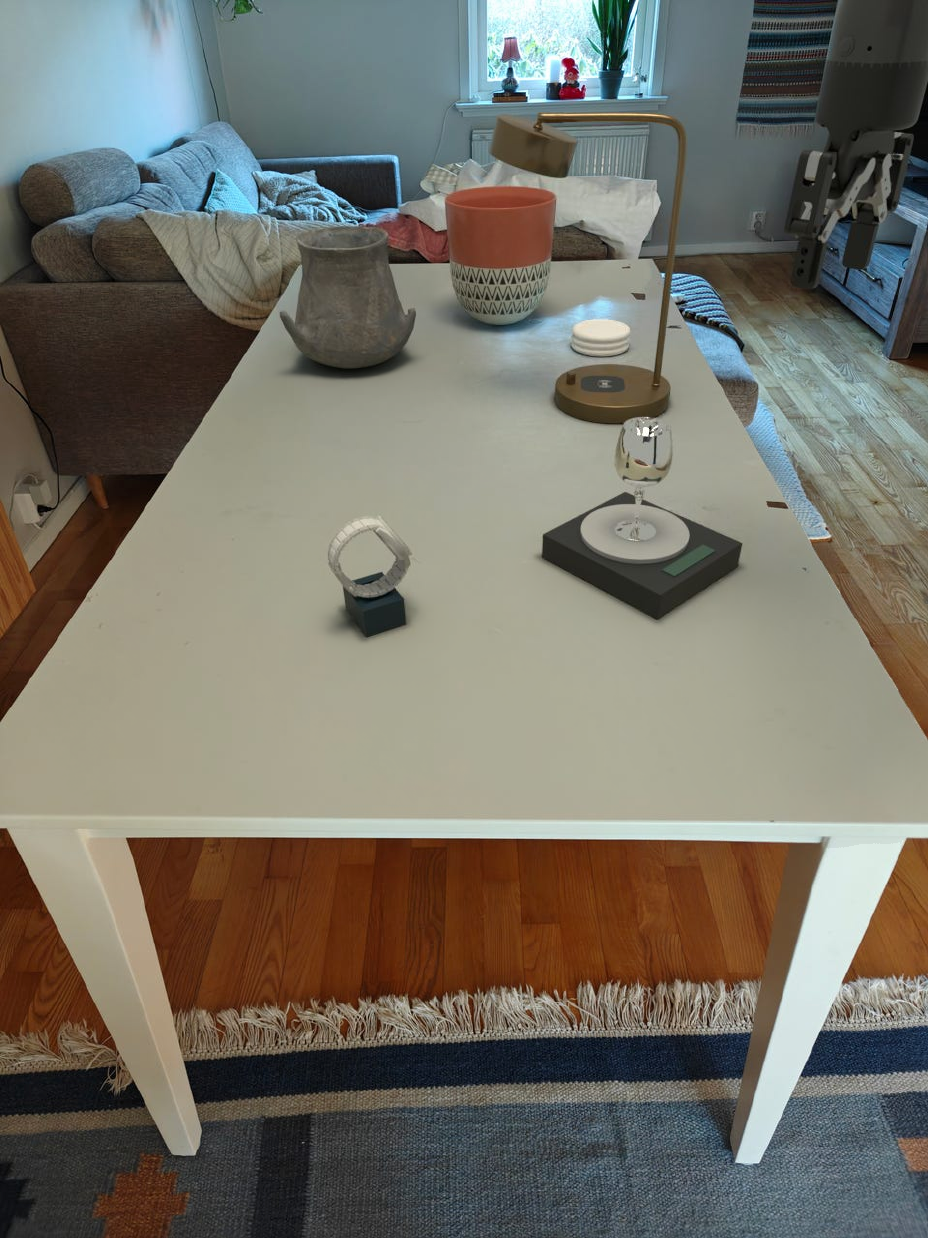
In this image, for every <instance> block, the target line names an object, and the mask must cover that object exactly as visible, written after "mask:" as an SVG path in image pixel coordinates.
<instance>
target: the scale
mask: <svg viewBox="0 0 928 1238" xmlns="http://www.w3.org/2000/svg"><path fill="white" fill-rule="evenodd" d="M635 508H636V500H635V494H632V493H630V492H627V491H624V492H621V493H620V494H618V495H615V496H614V497H612V498H610V499H608V500H606V501H604V502H602V503H600V504H599V505H597V506H595V507H593V508H590V509H589V510H586V511H585V512H583V513H582V514H579V515H577V516H575V517H574V518H571V519H570V520H568V521H566V522H564V523H562V524H560V525H558V526H556V527H554V528H552V529H550V530H548V531H546V532H545V533H543V534H542V546H541V558H543V559H544V560H546V561H548V562H550V563H552V564H554V565H555V566H557V567H559V568H561V569H563V570H564V571H566V572H569V573H570V574H572V575H574V576H576V577H578V578H580V579H581V580H583V581H585V582H586V583H589V584H591V585H593V586H595V587H596V588H598V589H600V590H602V591H604V592H605V593H608V594H609V595H611V596H613V597H614V598H617V599H619V600H621V601H622V602H624V603H625V604H628V605H630V606H631V607H634V608H635V609H637V610H638V611H641V612H643V613H645V614H646V615H648V616H650V617H652V618H654V619H656V620H659V619H660V618H662V617H664V615H666V614H668V613H669V612H671V611H672V610H674V609H676V608H677V607H678V606H680V605H681V604H683V603H685V602H686V601H688V600H689V599H691V598H692V597H694V596H695V595H697V594H698V593H700V592H701V591H703V590H704V589H706V588H707V587H709V586H710V585H712V584H714V583H715V582H717V581H718V580H719V579H722V577H724V576H725V575H727V574H728V573H730V572H732V571H733V570H735V569H736V568H738V567H739V563H740V557H741V553H742V549H743V542H741V541H739V540H737V539H734V538H733V537H730V536H728V535H726V534H723V533H720V532H718V531H716V530H714V529H712V528H709V527H707V526H704V525H702V524H700V523H698V522H696V521H693V520H691V519H688V518H687V517H684V516H683V515H680V514H677V513H675V512H673V511H672V510H671V511H670V510H668V509H666V508H664V507H661V506H659V505H657V504H654V503H652V502H651V501H647V500H646V499H644V498H642V501H641V505H640V511H639V520H642V521H645V522H648V523H650V524H652V525H653V526H654V527H655V529H656V534H655V536H654V537H653V538H651V539H649V540H646V541H629V540H625V539H623V538H621V537H619V536H618V535H617V534H616V533H615V531H614V528H615V526H616V524H617V523H619V522H621V521H624V520H631V519H634V516H635Z"/></svg>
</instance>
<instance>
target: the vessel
mask: <svg viewBox="0 0 928 1238" xmlns="http://www.w3.org/2000/svg"><path fill="white" fill-rule="evenodd" d="M295 241H296V245H297V247H298V250H299V254H300V259H301V260H300V261H301V280H300V285H299V291H298V296H297V304H296V312H295V320H293V318H292V317H291V316H290V315H289V313H288V312H287V311H285V310H284V309H281V310H280V311H279V318H280V320H281V322H282V324H283V326H284V328H285V330H286V332H287V333H288V334H289V336H290V337H291V339H292V341H293V343H294V345H295V347H296V348H297V349H298V350H299V351H300V353H302V354H303V355H304V356H305V357H306V358H308V359H310V360H312V361H314V362H316V363H319V364H322V365H324V366H328V367H333V368H338V369H361V368H369V367H371V366H375V365H378V364H382V363H383V362H386V361H387V360H389V359H392V358H393V357H394V356H397V354H398V353H399V352H400V351H401V350H402V349H404V347H405V346H406V344H407V343H408V341H409V339H410V337H411V335H412V333H413V330H414V327H415V322H416V316H417V312H416V311H417V310H416V308H414V307H411V308H409V309H407V314H405V311H404V308H403V305H402V302H401V300H400V298H399V294H398V291H397V287H396V283H395V279H394V275H393V272H392V269H391V267H390V263H389V253H388V251H389V250H388V244H389V233H388V231H386V230H385V229H383V228H381V227H375V226H370V227H368V226H362V225H355V226H353V225H351V226H350V225H338V226H329V227H326V228H318V229H313V230H307V231H303V232H301V233H299V234H298V235H296V237H295Z"/></svg>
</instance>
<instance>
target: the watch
mask: <svg viewBox="0 0 928 1238" xmlns="http://www.w3.org/2000/svg"><path fill="white" fill-rule="evenodd" d="M369 531H373V533H374V534H375V535H376V536H377V537H378V538H379V540H380V541H381V542H382V543H383V544H384V546H385V547H386V548H387V549H388V550H389V551H390V553H392V555H393V556H394V557H395V560H394V562H393V563H392V565H391V568H389V570H388V571H387V572H386V573H385V574H384V572H383V571H379V572H376V573H373V574H369V575H366V576H363V577H359V578H356V579H353V580H351V579H350V578H349V577H348V576H347V575H346V574H345V572H344V571H343V569H342V567H341V563H340V561H339V559H340V557H341V554H342V551H343V550H344V549H345V547H346V546H347V545H348V544H349V543H351V541H353V539H355V538H356V537H358V536H360V535H361V534H364V533H367V532H369ZM412 555H413V553H412V551H411V549H410V548H409V547H408V545H407V544H406V543H405V541H403V539H402V538H401V537H400V535H398V533H397V532H396V531H395V530H394V528H393V527H391V526H390V524H389V523H388V522H387V521H386V520H385V519H384V518H383V517H382V516H380V515H377V516H376V517H374V516H372V515H368V514H367V515H364V516H360V517H355V518H354V519H352V520H349V521H347V522H346V523H344V524H343V525H342V526H341V527H340V528H338V530H337V531H336V533H335V534H334V535H333V536H332V539H331V540H330V542H329V545H328V550H327V560H328V562H327V565H328V566H329V569H330V570H331V572H332V573H333V575H334V576H335V577H336V579H337V580H338V581H339V583H340V584H341V586H342V591H343V600H344V606H345V610H346V612H348V614H349V615H350V617H351V618H352V619H353V621H354V622H355V624H356V625H357V626H358V628H359V630H360V631H361V632H362V633H363V635H364V637H365V638H368V637H371V636H374V635H377V634H380V633H383V632H386V631H389V630H392V629H396V628H399V627H402V626H405V625H407V619H406V617H407V616H406V609H405V608H406V607H405V606H406V605H405V598H404V597H403V596H402V594H401V593H400V591H398V589H397V588H396V587H397V586H399V584H400V583H402V580H403V579H404V578H405V576H406V575H407V573H408V571H409V568H410V566H411V565H412V564H411V559H410V557H411V556H412Z"/></svg>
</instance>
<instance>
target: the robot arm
mask: <svg viewBox="0 0 928 1238" xmlns="http://www.w3.org/2000/svg"><path fill="white" fill-rule="evenodd" d="M830 34H831V35H830V40H829V43H828V49H827V55H826V59H825V64H824V70H823V75H822V80H821V85H820V90H819V95H818V100H817V105H816V111H815V117H814V119H815V122H816V124H817V125H818V126H820V127H822V128H826V129H827V131H828V136H827V139H826V142H825V145H824V147H823V149H822V150H817V149H807V148H806V149H805V148H804V149H803V150H802V151H801V153H800V155H799V158H798V162H797V167H796V172H795V175H794V181H793V185H792V190H791V196H790V199H789V204H788V209H787V213H786V216H785V217H786V218H785V222H784V228H783V230H784V234H785V233H786V234H788V235H792V236H794V237H795V238H796V239H797V246H796V252H795V257H794V261H793V267H792V272H791V277H790V284H791V286H792V287H794V288H798V289H803V290H809V291H810V290H812V289H815V288H817V287H818V286H819V284H820V279H821V275H822V271H823V266H824V261H825V257H826V252H827V248H828V243H829V242H828V239H829V238H830V236H831V234H832V232H833V230H834V228H835V227H836V224H837V222H838V220H840V219H842V218H844V217H846V216H847V215H848V213H849V211H850V210H851V213H852V217H853V219H854V220H853V221H850V225H849V229H848V234H847V238H846V243H845V246H844V251H843V255H842V260H841V264H842V266H843V267H844V268H847V269H852V270H857V271H861V270H864V269H867V268H868V267H869V265H870V263H871V259H872V255H873V250H874V247H875V242H876V238H877V234H878V231H879V227H880V224H882V223H884V221H885V220H886V218H887V215H888V212H892V213H893V212H895V211H896V210H897V208H898V206H899V203H900V200H901V194H902V190H903V186H904V182H905V177H906V174H907V169H908V166H909V161H910V156H911V152H912V148H913V144H914V134H913V133H904V132H900V131H901V130H902V131H903V130H906V129H909V128H911V127H913V126H914V125H916V123H917V122H918V120H919V116H920V112H921V109H922V104H923V101H924V96H925V93H926V90H927V85H928V0H839V2H838V5H837V9H836V12H835V16H834V19H833V24H832V29H831V33H830ZM897 131H899V132H897ZM803 204H804V206H805V209H804V211H803V213H802V214H801V212H802V207H803ZM824 215H825V217H824ZM800 216H801V217H800ZM823 217H824V219H823Z"/></svg>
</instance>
